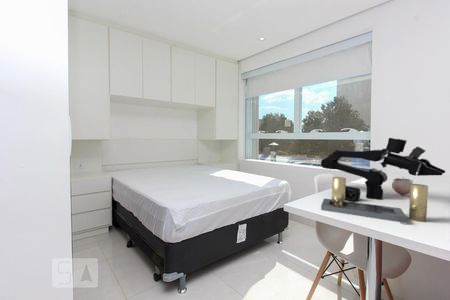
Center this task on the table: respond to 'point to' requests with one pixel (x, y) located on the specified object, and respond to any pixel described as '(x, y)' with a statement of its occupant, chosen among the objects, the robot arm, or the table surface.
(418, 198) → the brass billet
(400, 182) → the decorative fruit
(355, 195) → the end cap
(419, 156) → the robot arm
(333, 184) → the cylinder
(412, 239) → the table surface
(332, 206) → the plate
